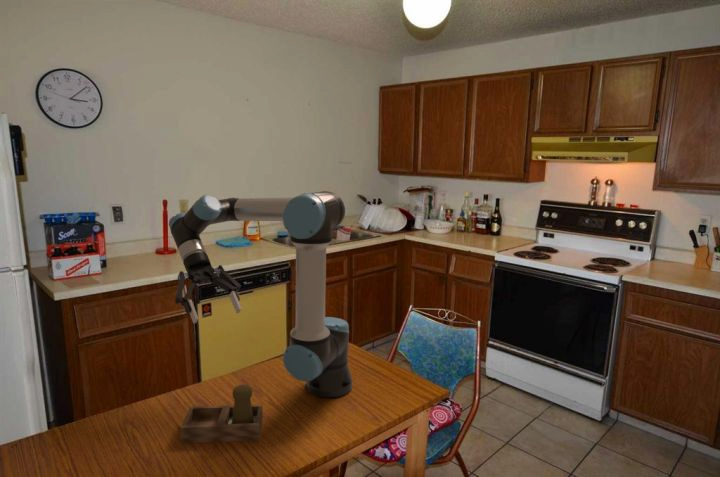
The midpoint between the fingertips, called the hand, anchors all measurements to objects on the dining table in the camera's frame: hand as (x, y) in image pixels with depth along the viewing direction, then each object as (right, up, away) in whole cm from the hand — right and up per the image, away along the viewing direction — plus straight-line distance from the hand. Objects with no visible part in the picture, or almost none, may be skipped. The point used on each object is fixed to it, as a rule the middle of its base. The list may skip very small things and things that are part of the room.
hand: (218, 316), depth 134 cm
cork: (+10, -28, -10) cm, 31 cm away
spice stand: (+5, -30, -10) cm, 32 cm away
